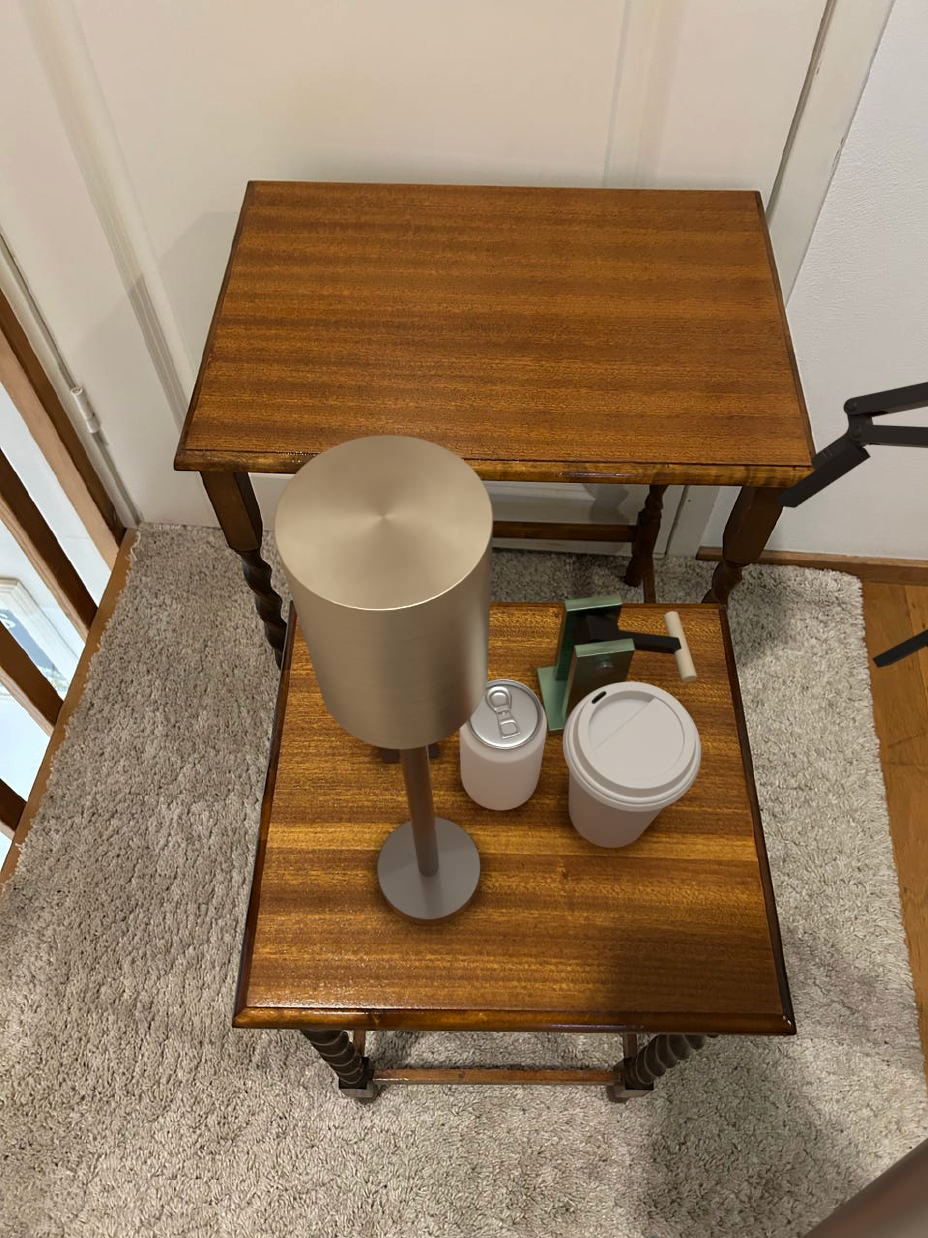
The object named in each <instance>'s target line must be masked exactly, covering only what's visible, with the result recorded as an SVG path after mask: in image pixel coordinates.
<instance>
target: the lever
mask: <svg viewBox="0 0 928 1238" xmlns="http://www.w3.org/2000/svg"><path fill="white" fill-rule="evenodd" d="M679 615H680V614H679V613H678V612H677V611H675V610H674V611H673V610H672V611H668V612H666V613H665V614H663V621H664V624H665V627H666V631H667V635H662V634H654V633H648V632H647V633H645V632H638V631H630V630H624V629H623V630H621V629H620V627H619V624H618V623H619V622H618V623H617V619H615V618H608V617H600V616H592V615H585V616H584V617H583V619H582V620H581V621H580V622H579V623H578V624H577V625H576V626H575V627H574V628H573V629H572V630H571V633H572V638H573V642H574V646H575V645H583V644H591V643H599V642H607V641H615V640H623V639H631V638H632V639H633V643H634V647H635V651H641V652H650V653H658V654H667V655H674V659H675V660H676V666H677V669H678V672H679V675H680V679H681V682H682V683H691V682H694V681H696V680H697V678H698V675H697V672H696V668H695V666H694V661H693V659H692V655H691V652H690V649H689V646H688V642H687V639H686V636H685V633H684V629H683V625H682V623H681V619H680V616H679Z"/></svg>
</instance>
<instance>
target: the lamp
mask: <svg viewBox="0 0 928 1238" xmlns="http://www.w3.org/2000/svg"><path fill="white" fill-rule="evenodd" d="M493 532H494V511H493V504H492V501H491V497H490V494H489V492H488V489H487V487H486V485H485V483H484V482H483V480H482V479H481V477H480V476H479V474H478V473H477V472H476V471H475V469H473V467H472V466H471V465H470V464H469V463H468V462H466V460H464V459H463V458H462V457H460V456H459V455H457V454H456V453H454V452H453V451H451V450H450V449H448V448H446V447H443V446H442V445H440V444H437V443H435V442H432V441H430V440H426V439H422V438H419V437H415V436H414V437H413V436H408V435H399V434H382V435H381V434H380V435H369V436H363V437H359V438H355V439H351V440H347V441H345V442H342V443H339V444H336V445H334V446H332V447H330V448H327V449H326V450H324V451H322V452H321V453H319V454H318V455H316V456H315V457H313V458H311V459H310V460H308V461H307V462H306V463H305V464H304V465H303V466H302V467H300V468H299V470H297V472H296V473H295V474H294V475H293V476H292V477H291V479H290V480H289V482H288V483H287V484H286V486H285V487H284V489H283V491H282V492H281V494H280V496H279V500H278V502H277V504H276V509H275V512H274V517H273V537H274V544H275V548H276V550H277V554H278V557H279V560H280V563H281V566H282V571H283V573H284V576H285V580H286V584H287V586H288V590H289V594H290V597H291V600H292V603H293V607H294V609H295V613H296V616H297V620H298V622H299V626H300V629H301V632H302V636H303V639H304V643H305V647H306V649H307V652H308V656H309V659H310V662H311V666H312V669H313V672H314V676H315V679H316V682H317V685H318V688H319V691H320V695H321V698H322V701H323V703H324V705H325V708H326V709H327V711H328V713H329V714H330V716H331V718H332V719H333V720H334V721H335V722H336V723H337V724H338V725H339V727H340V728H342V729H343V730H344V731H345V732H346V733H348V734H350V735H351V736H352V737H354V738H356V739H358V740H360V741H362V742H363V743H366V744H369V745H372V746H375V747H379V748H381V747H383V748H389V749H399V752H400V756H399V759H400V763H401V769H402V777H403V783H404V787H405V793H406V800H407V806H408V807H407V808H408V813H409V818H410V820H408V821H406V822H404V823H402V824H400V825H399V826H397V827H396V828H395V829H394V830H393V831H392V832H391V833H390V834H389V835H388V836H387V838H386V839H385V841H384V842H383V843H382V846H381V848H380V851H379V853H378V856H377V857H378V858H377V861H376V877H377V881H378V885H379V889H380V892H381V894H382V897H383V899H384V901H385V902H386V904H387V906H388V907H389V908H390V909H391V910H392V912H393V913H394V914H396V915H397V916H398V917H400V918H401V919H403V920H405V921H407V922H409V923H412V924H415V925H419V926H426V927H427V926H429V927H431V926H439V925H443V924H446V923H449V922H451V921H453V920H455V919H456V918H458V917H459V916H461V915H463V913H464V912H465V911H467V909H468V908H469V907H470V906H471V905H472V903H473V901H474V900H475V898H476V895H477V894H478V891H479V888H480V884H481V876H482V863H481V857H480V852H479V849H478V846H477V845H476V842H475V841H474V839H473V838H472V836H471V835H470V834H469V833H468V832H467V831H466V830H465V829H464V828H463V827H462V826H461V825H459V824H457V823H456V822H454V821H452V820H450V819H447V818H444V817H441V816H440V817H439V816H436V815H435V805H434V797H433V786H432V777H431V776H432V775H431V767H430V765H431V764H430V758H429V754H428V745H429V744H432V743H435V742H438V743H439V741H442V740H444V739H446V738H447V737H449V736H451V735H452V734H454V733H456V732H457V731H458V730H460V727H462V726H463V725H464V724H465V723H466V722H467V721H468V720H469V719H470V718H471V716H472V715H473V714H474V712H475V711H476V709H477V708H478V706H479V704H480V702H481V700H482V698H483V695H484V692H485V689H486V684H487V682H488V674H489V649H490V623H491V622H490V621H491V591H492V590H491V589H492V565H493V564H492V561H493V539H494V538H493V535H494V533H493Z"/></svg>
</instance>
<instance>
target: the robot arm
mask: <svg viewBox="0 0 928 1238" xmlns="http://www.w3.org/2000/svg"><path fill="white" fill-rule="evenodd" d="M927 407H928V381H925V382H919V383H914V384H909V385H906V386H901V387H898V388H897V387H895V388H892V389H887V390H882V391H878V392H873V393H868V394H864V395H858V396H854V397H850V398H847V399H846V400H845V401H844V403H843V406H842V409H843V413H845V414H846V418H847V422H848V423H847V424H848V427H847V430H846V432H845V433H844V434H842V435H841V436H840V437H838V438H837V439H835V440H834V441H833V442H831V443H829V444H828V445H827V446H826V447H824V448H822V449H821V450H820V451H818V452H817V453H815V454H814V456H813V457H812V459H811V460H810V462H811V464H812V466H813V468H814V469H815V470H813V471H812V472H811V473H809V474H807V475H806V476H804V477H803V478H802V479H800V480H799V481H798V482H796V483H795V484H793V485H792V486H790V487H789V488H787V489H786V490H784V491H783V492H782V493H780V494H779V495H777V496H776V497H775V500H776V501H777V503H778V505H779V506H780V507H782V508H783V507H784V508H792V509H796V508H797V507H799V506H800V505H802V504H804V503H805V502H806V501H808V500H809V499H811V498H812V497H813V496H815V495H817V494H818V493H819V492H822V490H824V489H825V488H827V487H828V486H830V485H831V484H833V483H834V482H836V481H837V480H839V479H840V478H842V477H843V476H845V475H846V474H848V473H849V472H851V471H853V470H854V469H855V468H856V467H858V466H859V465H861V464H862V463H864V462H865V461H867V460H868V459H871V457H872V456H871V454H870V453H869V452H868V450H867V448H865V447H866V446H884V447H899V448H900V447H901V448H902V447H903V448H919V449H928V426H915V425H913V426H912V425H911V426H910V425H893V424H892V425H891V424H889V425H888V424H874V422H873V421H874V420H873V418H876V417H882V416H886V415H887V416H888V415H891V414H897V413H901V412H906V411H912V410H917V409H922V408H923V409H924V408H927ZM926 647H927V648H928V628H927V629H924V630H923V631H922V632H919V633H918V634H915V635H914V636H912V637H910V638H908V639H906V640H904V641H902V642H900V643H899V644H896V645H894V646H893V647H891V648H889V649H888V650H885V651H883V652H882V653H880V654H878V655H876V656H874V657H871V658H872V661H873V663H874V664H875V666H876V668H877V669H879V668H885V667H888V666H891V665H894V664H895V663H897V662H899V661H901V660H903V659H904V658H907V657H909V656H910V655H912V654H915V653H917V652H919V651H920V650H922V649H924V648H926ZM645 1238H661V1237H659V1236H657V1235H649V1236H647V1237H645ZM800 1238H928V1137H926V1138H925V1139H924V1140H922V1141H921V1142H920V1143H919V1144H917V1145H916V1146H915V1147H913V1148H912V1149H911V1150H910V1151H909V1152H907V1153H906V1154H905V1155H904V1156H902V1157H901V1158H900V1159H899V1160H897V1161H896V1162H895V1163H893V1164H892V1165H891V1166H890V1167H888V1168H887V1169H885V1170H884V1171H883V1172H882V1173H881V1174H880V1175H878V1176H877V1177H875V1178H874V1179H873V1180H871V1181H870V1182H869V1183H868V1184H867V1185H866V1186H864V1187H863V1188H862V1189H860V1190H859V1191H858V1192H857V1193H855V1194H854V1195H853V1196H851V1197H850V1198H849V1199H848V1200H847V1201H846V1202H844V1203H843V1204H842V1205H840V1206H839V1207H838V1208H836V1209H835V1210H834V1211H832V1213H830V1214H829V1215H827V1216H826V1217H825V1218H824V1219H823V1220H821V1221H820V1222H819V1223H818V1224H816V1225H815V1226H814V1227H812V1228H811V1229H810V1230H809V1231H807V1232H806V1233H805V1234H803V1236H801V1237H800Z"/></svg>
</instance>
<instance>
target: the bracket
mask: <svg viewBox="0 0 928 1238" xmlns="http://www.w3.org/2000/svg"><path fill="white" fill-rule="evenodd" d="M623 605H624V603H623V600H622V596H621V593H616V594H606V595H599V596H591V597H582V598H581V597H580V598H574V599H566V600H563V605H562V612H561V618H560V624H559V631H558V637H557V643H556V649H555V656H554V661H553V665H552V666H545V667H543V666H542V667H537V668H536V673H535V675H536V681H537V686H538V692H539V696H540V703H541V705H542V707H543V709H544V712H545V715H546V721H547V729H546V732H547V735H548V737H553V736H559V735H564V729H565V726H566V723H567V720H568V718H569V716H570V714H571V713H572V711H573V710H574V708H575V707H576V706H577V705H578V704H579V702H581V701H582V700H583V699H584V698H585V697H586V696H587V695H589V694H590V693H592V692H593V691H595V690H597V689H599V688H601V687H604V686H607V685H610V684H614V683H621V682H627V678H628V674H629V671H630V669H631V664H632V662H633V658H634V655H635V651H636V650H635V647H634V643H633V639H632V638H631V639H623V640H615V641H607V642H599V643H591V644H583V645H575V646H574V642H573V638H572V633H571V630H572V629H573V628H574V627H575V626H576V625H577V624H578V623H579V622H580V621H581V620H582V619H583V617H584V616H585V615H592V616H600V617H608V618H615V619H617V623H619V621H620V617H621V612H622V610H623V609H622V608H623Z"/></svg>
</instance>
